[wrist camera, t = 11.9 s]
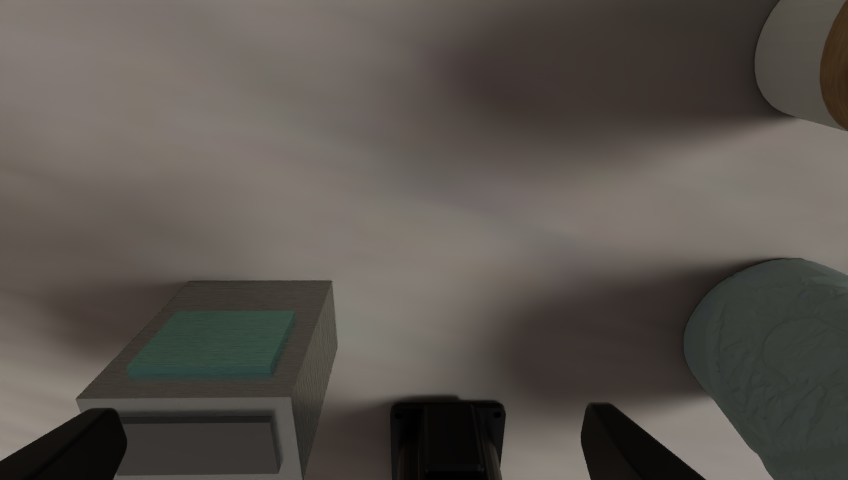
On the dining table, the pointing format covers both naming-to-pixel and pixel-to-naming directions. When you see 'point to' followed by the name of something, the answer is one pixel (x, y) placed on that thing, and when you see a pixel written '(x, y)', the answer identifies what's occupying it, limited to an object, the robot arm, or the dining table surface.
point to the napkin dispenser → (223, 382)
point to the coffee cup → (806, 60)
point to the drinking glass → (779, 364)
